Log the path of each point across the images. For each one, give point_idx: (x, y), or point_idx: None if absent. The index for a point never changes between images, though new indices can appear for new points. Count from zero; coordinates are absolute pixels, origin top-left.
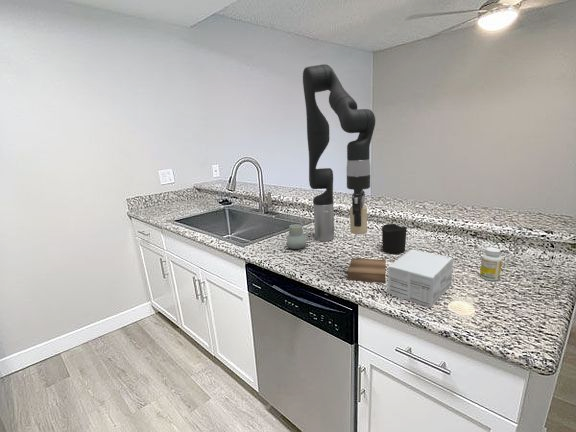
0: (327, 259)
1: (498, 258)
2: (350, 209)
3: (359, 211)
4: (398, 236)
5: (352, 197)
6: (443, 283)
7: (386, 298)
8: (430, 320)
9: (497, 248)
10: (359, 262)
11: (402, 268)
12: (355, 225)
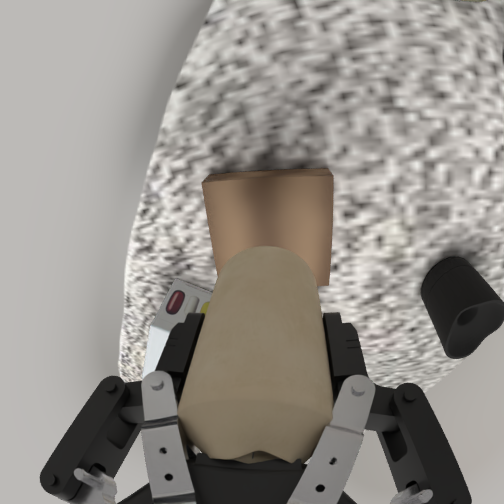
0: (365, 72)
1: None
2: (209, 389)
3: (112, 423)
4: (438, 332)
5: (45, 490)
6: None
7: (152, 275)
8: (125, 328)
9: None
10: (293, 209)
11: (152, 349)
12: (190, 319)
